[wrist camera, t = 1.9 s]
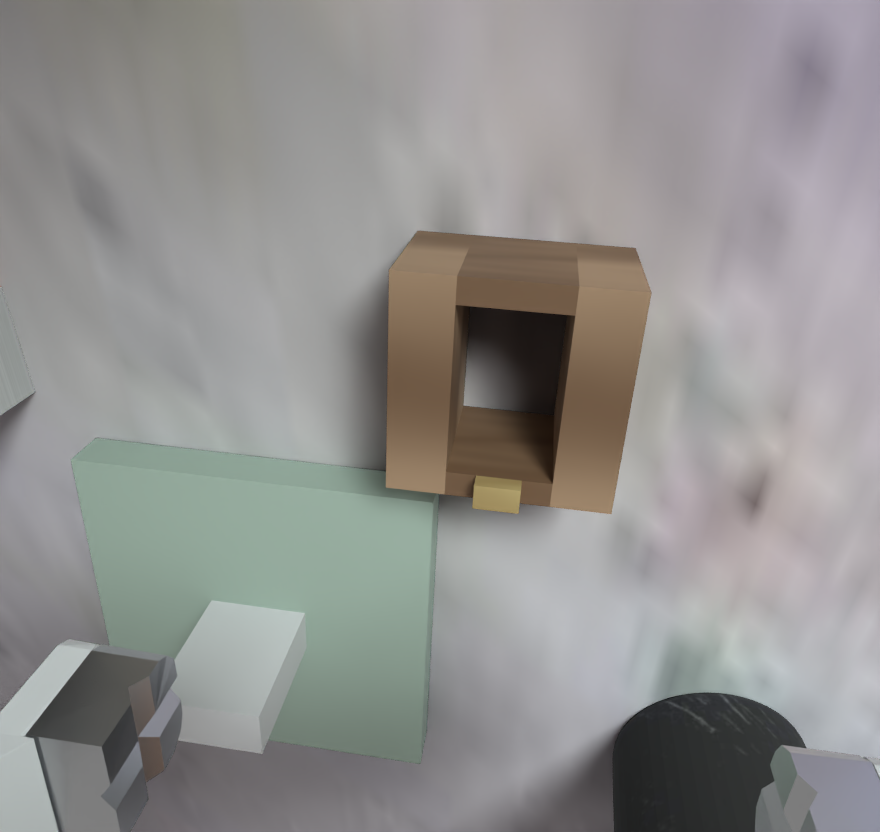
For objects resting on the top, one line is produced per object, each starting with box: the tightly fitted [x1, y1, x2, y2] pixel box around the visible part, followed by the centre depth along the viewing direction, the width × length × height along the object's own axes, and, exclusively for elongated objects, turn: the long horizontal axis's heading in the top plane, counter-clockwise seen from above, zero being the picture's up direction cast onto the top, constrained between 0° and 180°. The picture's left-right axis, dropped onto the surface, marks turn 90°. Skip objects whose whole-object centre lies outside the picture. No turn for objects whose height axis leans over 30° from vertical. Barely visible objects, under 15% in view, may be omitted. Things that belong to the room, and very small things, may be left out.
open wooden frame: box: [386, 231, 651, 514], centre depth 20 cm, size 6×6×4 cm
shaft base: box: [71, 438, 439, 764], centre depth 25 cm, size 12×12×6 cm
